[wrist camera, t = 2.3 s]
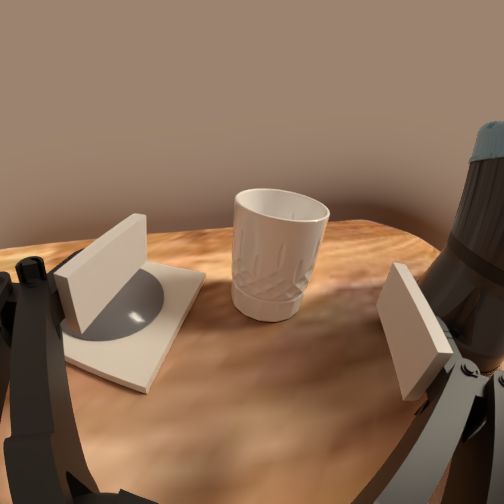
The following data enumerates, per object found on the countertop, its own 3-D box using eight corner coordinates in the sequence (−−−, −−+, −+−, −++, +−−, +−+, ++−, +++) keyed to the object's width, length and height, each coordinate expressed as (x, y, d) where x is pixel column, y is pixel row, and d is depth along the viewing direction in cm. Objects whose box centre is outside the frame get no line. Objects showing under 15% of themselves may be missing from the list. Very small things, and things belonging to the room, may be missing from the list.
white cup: (280, 273, 33) (296, 188, 29) (320, 316, 27) (349, 218, 22) (214, 284, 30) (221, 188, 25) (245, 335, 24) (262, 223, 19)
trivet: (205, 279, 30) (206, 270, 30) (147, 394, 17) (144, 385, 17) (90, 253, 31) (88, 245, 31) (7, 329, 18) (3, 320, 18)
